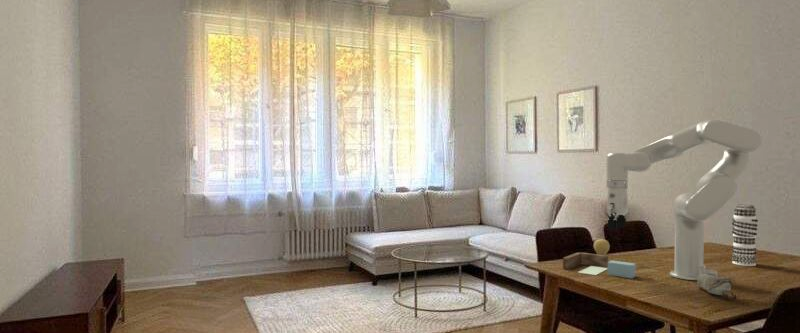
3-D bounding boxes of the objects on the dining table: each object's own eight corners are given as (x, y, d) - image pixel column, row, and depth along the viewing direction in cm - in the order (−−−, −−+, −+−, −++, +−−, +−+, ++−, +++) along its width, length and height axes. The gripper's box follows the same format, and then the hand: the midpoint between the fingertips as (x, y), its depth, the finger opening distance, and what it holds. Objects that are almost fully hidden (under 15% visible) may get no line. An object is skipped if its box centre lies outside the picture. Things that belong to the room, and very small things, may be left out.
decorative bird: (706, 289, 176) (707, 267, 176) (740, 302, 160) (740, 279, 160) (691, 289, 176) (691, 267, 176) (723, 303, 160) (724, 279, 160)
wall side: (607, 266, 210) (608, 255, 210) (606, 267, 209) (606, 256, 208) (577, 262, 218) (578, 252, 218) (576, 263, 217) (576, 252, 216)
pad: (608, 268, 206) (608, 268, 206) (595, 275, 195) (595, 274, 195) (591, 266, 211) (591, 265, 211) (577, 272, 199) (577, 272, 199)
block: (635, 276, 194) (636, 263, 194) (632, 278, 190) (632, 265, 190) (611, 273, 200) (611, 260, 200) (607, 275, 196) (607, 262, 196)
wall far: (582, 263, 217) (582, 252, 217) (567, 269, 205) (567, 258, 205) (577, 262, 218) (578, 252, 218) (562, 268, 206) (562, 257, 206)
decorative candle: (749, 261, 220) (750, 203, 219) (762, 266, 211) (763, 206, 210) (726, 261, 221) (727, 203, 220) (738, 265, 212) (739, 205, 211)
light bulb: (607, 264, 214) (607, 240, 214) (591, 262, 218) (591, 239, 218) (611, 262, 219) (611, 238, 219) (596, 260, 223) (596, 237, 223)
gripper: (619, 186, 188) (619, 232, 188) (634, 184, 201) (634, 227, 201) (598, 185, 193) (598, 230, 193) (615, 183, 206) (614, 225, 206)
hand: (616, 229), depth 197 cm, fingers open, 9 cm apart
